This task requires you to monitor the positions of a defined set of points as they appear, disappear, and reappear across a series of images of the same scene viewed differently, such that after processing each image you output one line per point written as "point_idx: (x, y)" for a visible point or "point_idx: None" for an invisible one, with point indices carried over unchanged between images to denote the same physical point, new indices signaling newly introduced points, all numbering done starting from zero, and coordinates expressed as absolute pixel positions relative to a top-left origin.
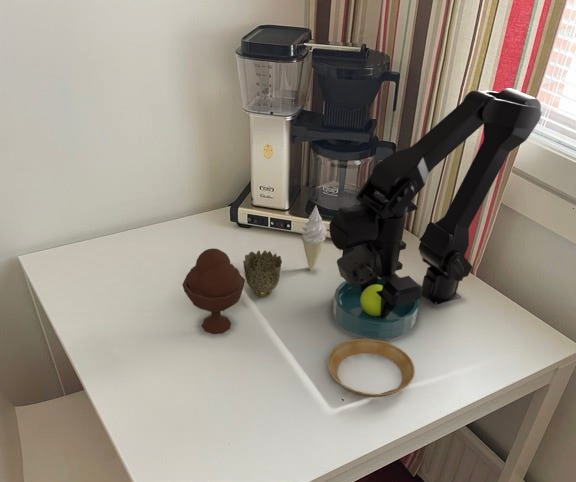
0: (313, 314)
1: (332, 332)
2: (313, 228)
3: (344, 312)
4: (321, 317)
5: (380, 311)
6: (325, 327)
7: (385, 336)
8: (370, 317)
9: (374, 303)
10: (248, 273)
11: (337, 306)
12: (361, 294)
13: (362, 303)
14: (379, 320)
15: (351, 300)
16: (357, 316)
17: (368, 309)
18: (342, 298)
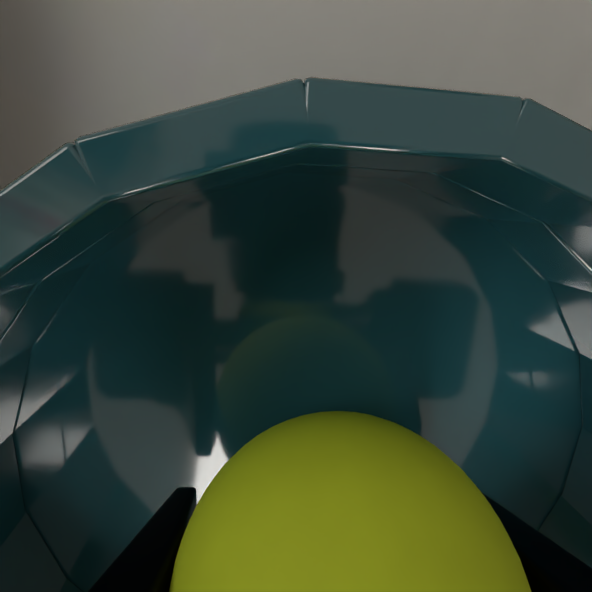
0: (574, 29)
1: (274, 34)
2: None
3: (275, 91)
4: (501, 74)
5: (177, 537)
6: (367, 17)
7: None
8: (285, 420)
9: (215, 580)
10: None
11: (474, 103)
12: (540, 491)
13: (361, 445)
14: (224, 459)
15: (529, 400)
16: (57, 211)
17: (263, 451)
18: (586, 349)
